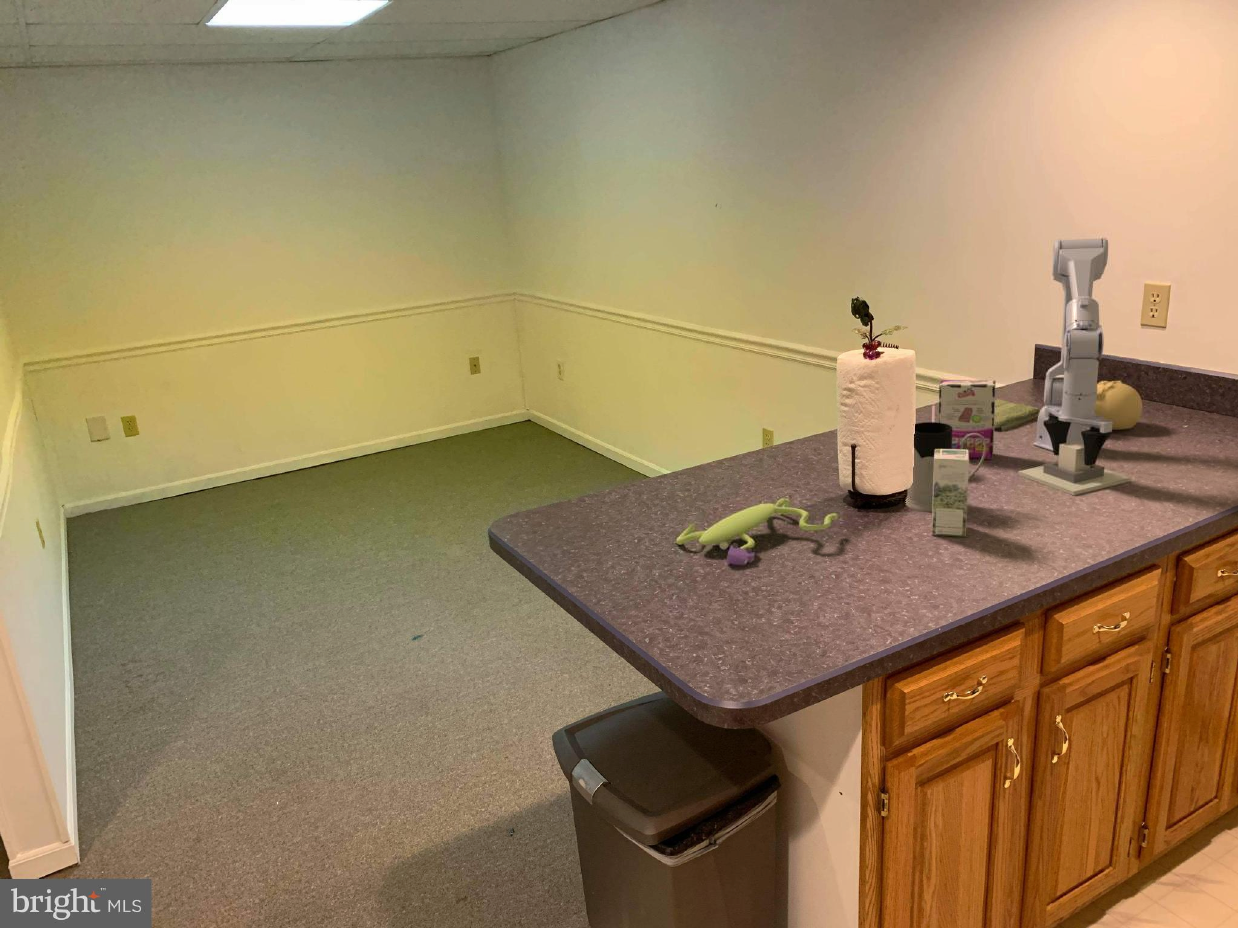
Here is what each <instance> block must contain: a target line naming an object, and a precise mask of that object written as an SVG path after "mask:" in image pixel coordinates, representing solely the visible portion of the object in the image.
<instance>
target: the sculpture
mask: <svg viewBox="0 0 1238 928" xmlns="http://www.w3.org/2000/svg"><path fill="white" fill-rule="evenodd" d="M1142 413H1143V401H1142V398H1141V395H1140V394H1139V392H1137V390H1136V389H1135V388H1133V387H1132V386H1130V385H1129V384H1126V383H1123V382H1122V380H1114V381H1113V380H1112V381H1108V380H1101V381H1099V382H1097V400H1096V404H1095V412H1094V414H1096V415H1098V416H1100V417H1102V418H1104V419H1106V420H1109V421H1112V422H1113V424H1112V431H1113V430H1117V431H1118V430H1119V431H1120V430H1127V429H1128V430H1129V429H1132V428H1133V427H1135V425H1137V423H1138V422H1139V420H1140V418H1141V416H1142Z"/></svg>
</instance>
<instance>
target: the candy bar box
mask: <svg viewBox="0 0 1238 928" xmlns="http://www.w3.org/2000/svg"><path fill="white" fill-rule="evenodd" d="M938 387H939V388H938V389H939V390H938V423H944V424H948V425H950V426H952V449H960V448H961V442H962V440H963V438H964V437H965V436H967V435H968V434H971V433H977V434H980V435H981V436H983V437H984V439H985V441H986V446H987V447H986V455H985V458H984V460H993V457H994V447H995V446H994V439H995V429H994V419H995V400H996V379H941V381H940V383H939V386H938ZM963 450H968V451H969V460H981V459H982V456H983V452H984V441H983V439H982V438H981V437H980V436H976V435H973V436H970V437H968V438H967V439H966V440H965V442H964V444H963Z"/></svg>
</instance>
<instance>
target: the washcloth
mask: <svg viewBox="0 0 1238 928" xmlns="http://www.w3.org/2000/svg"><path fill="white" fill-rule="evenodd" d="M1040 411H1041V409H1040V408H1038V407H1034V406H1030V405H1025V404H1021V403H1019V404H1017V403H1014V402H1011V401H1008V400H1002V399H996V398H995V419H994V430H995V431H996V430H997V431H1001V432H1004V431H1007V430H1009V429H1012V428H1014V427H1017V426H1019V425H1021V424H1024V423H1027V422H1029V421H1032V420H1034V419H1038V415H1039V413H1040Z"/></svg>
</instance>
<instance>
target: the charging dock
mask: <svg viewBox="0 0 1238 928" xmlns="http://www.w3.org/2000/svg"><path fill="white" fill-rule="evenodd" d="M1058 462H1059V460H1056V461H1051V462H1048V463H1044V464H1043V465H1040V466H1036V467H1035V466H1034V467H1031V468H1026V469H1023V470H1018V473H1017V474H1018V476H1020V477H1023V478H1026V479H1028V480H1031V481H1034V482H1036V483H1040V484H1041V485H1044V486H1047V487H1050V488H1052V489H1055V490H1058V491H1060V492H1062V493H1063V492H1064V493H1065V494H1069V495H1072V496H1077V495H1081V494H1084V493H1085V494H1086V493H1089V492H1092V491H1093V492H1094V491H1098V490H1101V489H1105V488H1108V487H1113V486H1117V485H1120V484H1121V485H1122V484H1125V483H1128V482H1131V477H1130V476H1127V475H1123V474H1120V473H1117V472H1115V471H1111V470H1108V469H1105V466H1102V465H1098V464H1096V463H1095V464H1094V465H1090V469H1085V470H1081V471H1077V472H1072V471H1069V470H1066V469H1063V468H1060V467H1058Z"/></svg>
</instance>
